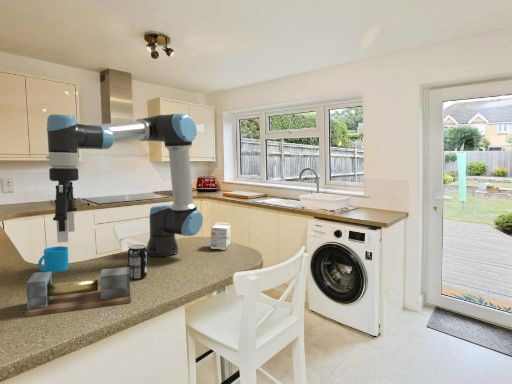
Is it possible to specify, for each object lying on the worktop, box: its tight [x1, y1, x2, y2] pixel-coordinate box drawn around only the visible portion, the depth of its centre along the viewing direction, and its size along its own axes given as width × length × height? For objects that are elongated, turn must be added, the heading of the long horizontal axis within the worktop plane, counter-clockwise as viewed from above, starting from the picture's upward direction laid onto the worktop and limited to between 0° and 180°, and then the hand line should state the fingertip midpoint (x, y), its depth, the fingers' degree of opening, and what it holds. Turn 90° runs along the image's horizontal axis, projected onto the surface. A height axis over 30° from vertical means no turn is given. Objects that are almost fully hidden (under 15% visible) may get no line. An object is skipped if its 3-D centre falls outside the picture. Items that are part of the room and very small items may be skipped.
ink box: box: [210, 221, 232, 247], centre depth 163 cm, size 9×8×13 cm
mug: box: [37, 245, 69, 273], centre depth 123 cm, size 12×8×8 cm
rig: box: [25, 266, 132, 318], centre depth 97 cm, size 27×12×9 cm, turn 113°
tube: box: [47, 278, 99, 297], centre depth 96 cm, size 16×4×4 cm, turn 113°
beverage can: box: [127, 244, 148, 281], centre depth 118 cm, size 7×7×12 cm
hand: (66, 236), depth 97 cm, fingers open, 13 cm apart
